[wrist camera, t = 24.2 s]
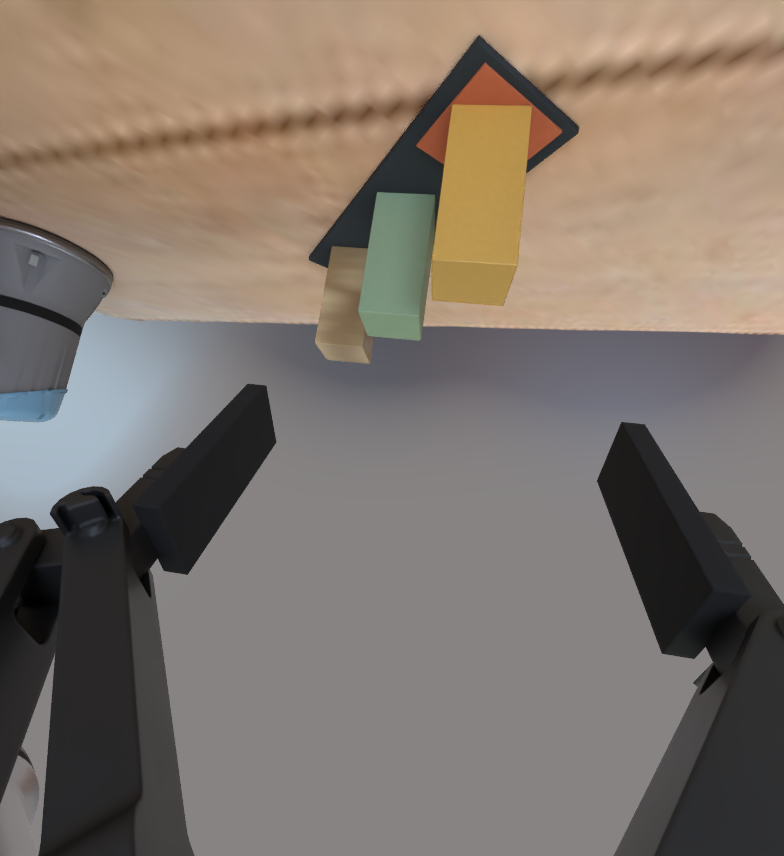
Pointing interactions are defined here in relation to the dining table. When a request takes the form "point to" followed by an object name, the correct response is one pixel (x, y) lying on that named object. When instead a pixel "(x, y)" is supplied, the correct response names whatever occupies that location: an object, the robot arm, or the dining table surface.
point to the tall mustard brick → (481, 203)
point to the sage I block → (398, 265)
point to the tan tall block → (344, 308)
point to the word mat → (427, 140)
